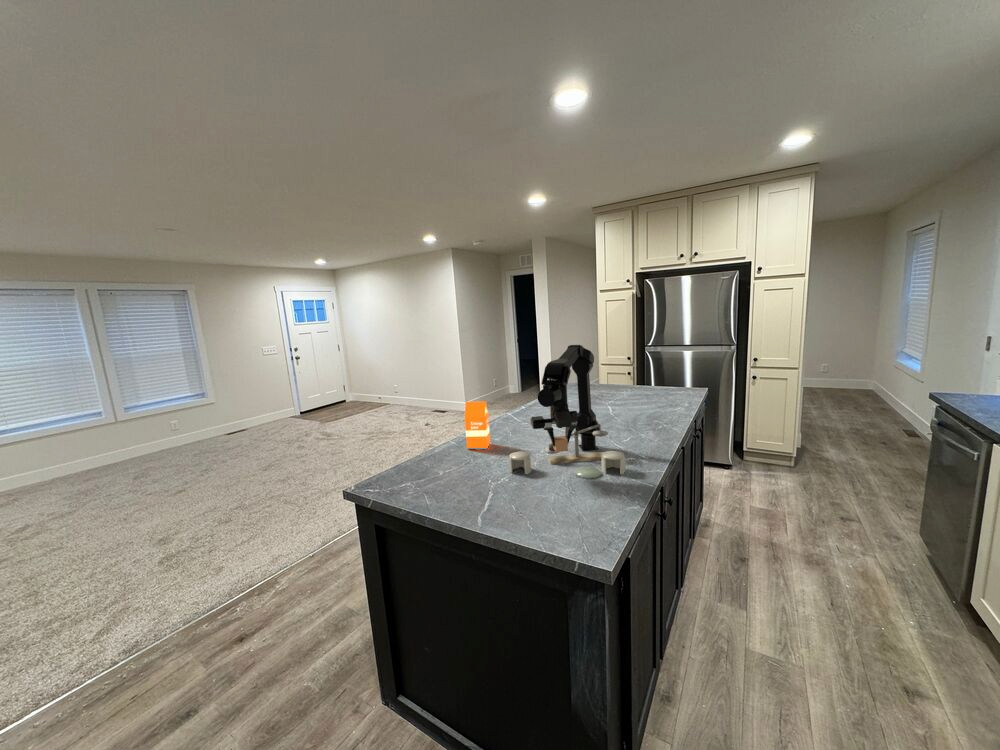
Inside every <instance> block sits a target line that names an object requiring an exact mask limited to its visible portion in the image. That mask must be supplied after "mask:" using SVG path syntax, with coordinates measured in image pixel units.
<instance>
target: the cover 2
mask: <svg viewBox="0 0 1000 750" xmlns="http://www.w3.org/2000/svg"><path fill="white" fill-rule="evenodd" d="M610 467H616V468H615V469H618V468H620V469H619V475H620V474H622V475H624V474H625V473H626V456H625V454H624V453H623V452H620V451H617V450H607V451H604V452H603V453H602V455H601V472H602V473H603V472H604V473H605V475H607V469H611V468H610ZM624 472H625V473H624Z"/></svg>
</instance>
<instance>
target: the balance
mask: <svg viewBox="0 0 1000 750" xmlns="http://www.w3.org/2000/svg"><path fill="white" fill-rule="evenodd" d="M597 427H600V431H594V432H593V435H594V436H595V437H600V438H601V437H607V436H608V435H609V432H608V431H606V430H601V429H602V428H601V424H600V423H598V425H595V426H592V427H589V428H586V429H584V430H581V431H576V430H574V432H572V434H571V437H574V439H573V441H574V454H566V455H556V454H558V453H559V454H560V452H556V451H555V450H554V448H553V444H552V443H549V444H548V447H546V448H545V449H544V452H545V453H546V454H550V455H551V454H552V455H554V456H548V457H547V459H548V460H547V461H548V463H549V464H550V465H558V464H570V463H579V462H581V463H582V462H588V461H589V462H590V461H591V460H592V461H599V460H600V459H601V455H602V453H604V452H603V451H599V452H588V453H580V451H579V450H580V447H579V445H580V444H579V435H581V434H580V433H582V432H585V431H588V430H591V429H594V428H597ZM555 455H556V456H555ZM592 461H591V462H592Z"/></svg>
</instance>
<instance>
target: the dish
mask: <svg viewBox="0 0 1000 750" xmlns="http://www.w3.org/2000/svg"><path fill="white" fill-rule="evenodd" d="M601 472H602V471H601V470H600V469H599V468H598V467H594V466H581V467H577V468H576V469H575V470H574V475H575V476H576V477H577V476H578V477H577V478H581V479H584V478H586V480H591V478H593V479H597V478H599V477H600V476H601V475H600V474H602V473H601ZM598 476H599V477H598ZM596 477H597V478H596Z"/></svg>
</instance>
